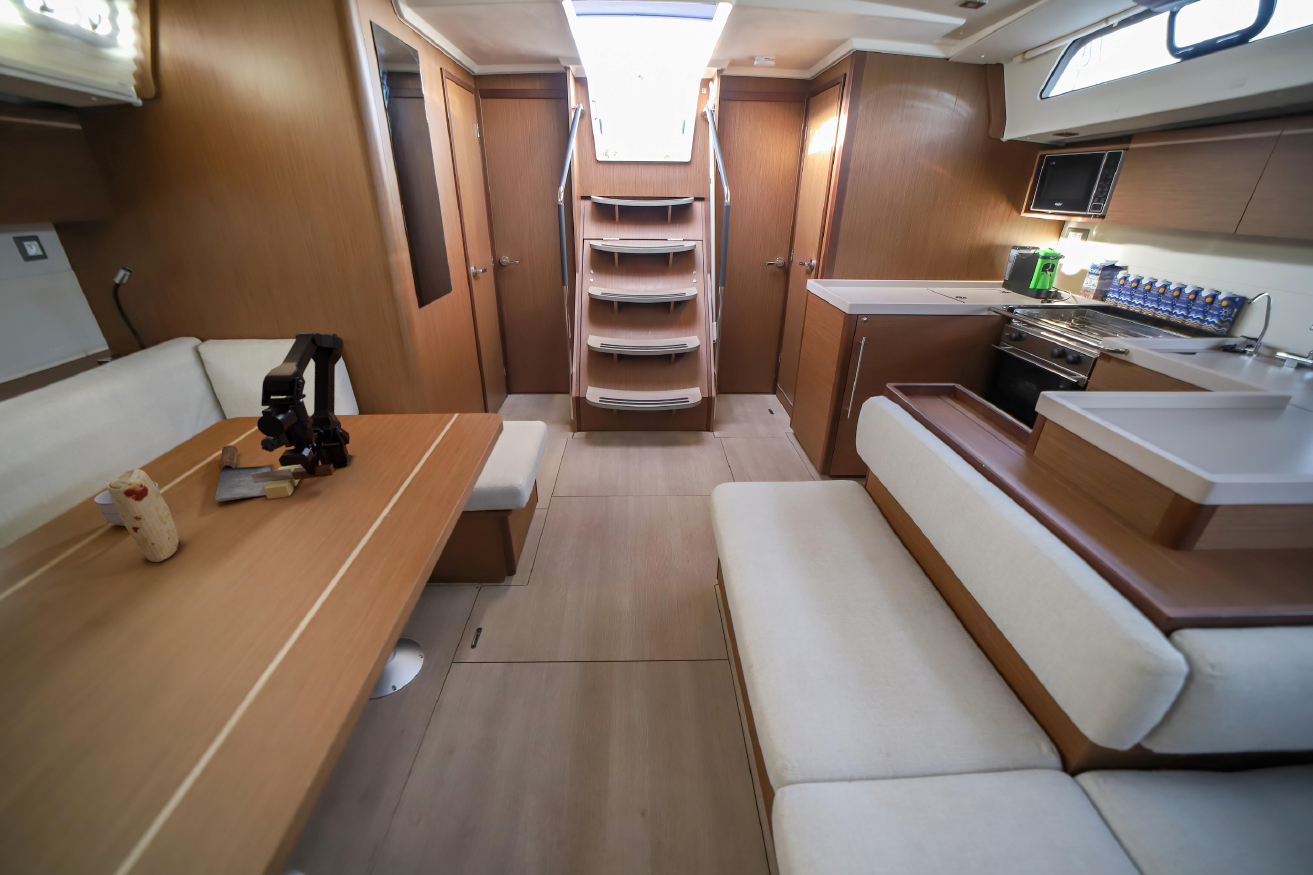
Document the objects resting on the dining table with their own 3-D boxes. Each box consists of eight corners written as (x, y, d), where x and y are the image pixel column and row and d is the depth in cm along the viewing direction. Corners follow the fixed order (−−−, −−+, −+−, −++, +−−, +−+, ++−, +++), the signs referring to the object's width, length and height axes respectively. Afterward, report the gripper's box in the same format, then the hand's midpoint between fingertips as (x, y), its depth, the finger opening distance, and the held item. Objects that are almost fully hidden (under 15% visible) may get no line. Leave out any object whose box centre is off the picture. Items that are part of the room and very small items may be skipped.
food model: (179, 560, 108) (138, 481, 100) (139, 570, 106) (92, 490, 97) (190, 536, 116) (152, 461, 107) (153, 545, 113) (110, 468, 104)
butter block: (303, 473, 142) (300, 464, 140) (295, 486, 136) (292, 476, 134) (283, 476, 141) (279, 466, 139) (274, 489, 135) (270, 479, 133)
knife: (334, 471, 138) (331, 461, 136) (332, 475, 136) (329, 465, 134) (256, 480, 133) (252, 471, 132) (253, 485, 131) (248, 475, 129)
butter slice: (294, 489, 135) (290, 478, 133) (289, 496, 132) (285, 485, 130) (272, 491, 133) (268, 481, 132) (267, 499, 130) (263, 488, 129)
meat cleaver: (271, 494, 132) (266, 481, 131) (217, 508, 126) (211, 494, 125) (270, 447, 157) (265, 436, 155) (224, 457, 151) (219, 445, 149)
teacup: (108, 518, 122) (92, 491, 118) (167, 501, 129) (153, 474, 126) (112, 543, 113) (95, 514, 110) (175, 523, 121) (161, 495, 117)
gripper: (272, 409, 134) (291, 460, 141) (244, 439, 118) (266, 495, 125) (319, 405, 137) (335, 455, 144) (298, 433, 121) (317, 488, 128)
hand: (314, 472), depth 135 cm, fingers closed on knife, 2 cm apart
